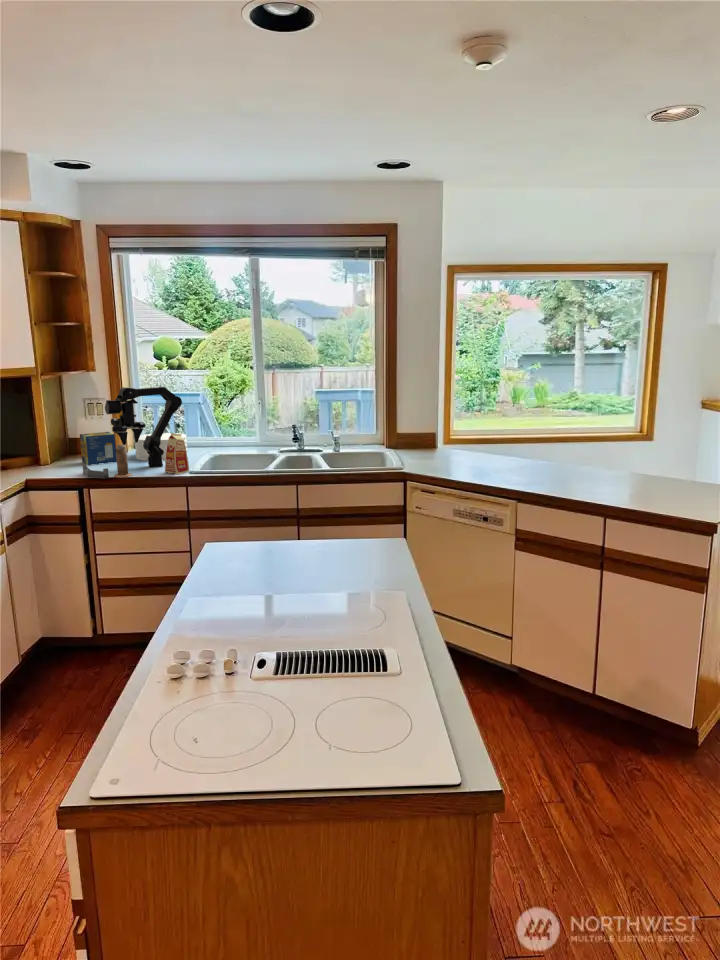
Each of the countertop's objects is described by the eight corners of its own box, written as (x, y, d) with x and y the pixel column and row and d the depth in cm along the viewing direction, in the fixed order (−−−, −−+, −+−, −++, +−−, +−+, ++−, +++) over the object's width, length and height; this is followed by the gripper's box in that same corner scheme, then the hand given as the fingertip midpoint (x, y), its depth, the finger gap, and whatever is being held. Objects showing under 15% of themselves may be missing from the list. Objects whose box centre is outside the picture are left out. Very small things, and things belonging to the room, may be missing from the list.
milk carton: (177, 474, 311) (174, 433, 306) (164, 472, 316) (161, 432, 311) (191, 471, 318) (188, 431, 314) (178, 469, 323) (175, 430, 319)
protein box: (81, 462, 342) (79, 434, 339) (111, 459, 352) (108, 431, 348) (87, 465, 334) (85, 436, 331) (117, 462, 344) (115, 433, 340)
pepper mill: (125, 473, 310) (123, 444, 307) (130, 474, 307) (127, 445, 304) (116, 474, 307) (113, 445, 304) (120, 475, 304) (118, 446, 301)
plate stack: (158, 451, 378) (156, 432, 376) (197, 454, 368) (196, 434, 366) (125, 459, 353) (123, 438, 350) (166, 462, 343) (165, 441, 341)
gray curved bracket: (86, 473, 315) (85, 463, 314) (109, 478, 302) (108, 468, 301) (77, 474, 311) (76, 465, 310) (100, 480, 299) (99, 470, 298)
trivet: (133, 474, 312) (132, 472, 312) (130, 477, 304) (130, 475, 304) (115, 474, 310) (115, 473, 310) (113, 478, 303) (112, 476, 302)
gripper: (126, 410, 329) (129, 440, 332) (101, 414, 312) (104, 445, 315) (144, 411, 325) (147, 441, 329) (120, 415, 308) (123, 447, 311)
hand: (130, 443), depth 321 cm, fingers open, 9 cm apart
